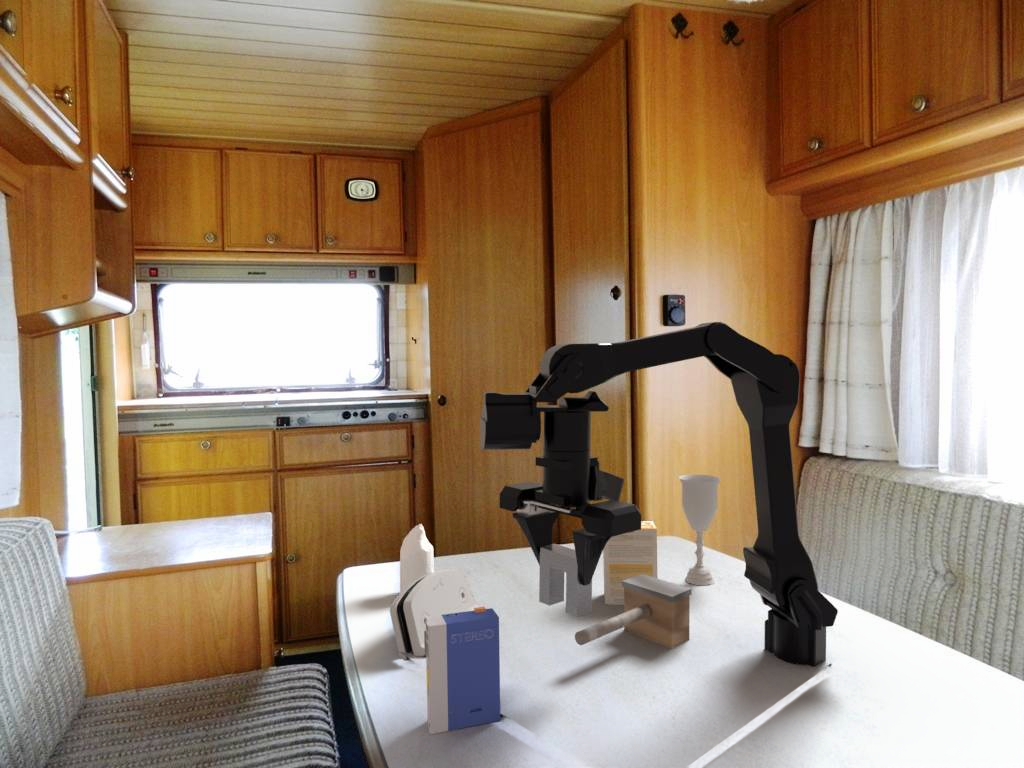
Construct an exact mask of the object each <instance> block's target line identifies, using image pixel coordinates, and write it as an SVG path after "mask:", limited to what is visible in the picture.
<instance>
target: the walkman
mask: <svg viewBox="0 0 1024 768" xmlns="http://www.w3.org/2000/svg"><path fill="white" fill-rule="evenodd" d="M424 650H425V655H424V656H426V657H425V658H426V661H425V662H426V665H425V666H426V704H427V705H426V707H427V708H426V711H427V712H426V713H427V728H428V729H427V730H428V732H429V735H434V734H439V733H444V732H449V731H455V730H460V729H465V728H466V729H467V728H470V727H476V726H480V725H481V726H482V725H486V724H492V723H496V722H501V681H500V680H501V675H500V674H501V673H500V669H501V667H500V666H501V664H500V662H501V661H500V616H499V615H498V614H497V613H496V611H495V610H494V608H486V607H485V606H481V607H478V608H474V611H467V612H459V613H451V614H444V615H436V616H429V617H426V631H424Z"/></svg>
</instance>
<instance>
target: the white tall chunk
mask: <svg viewBox="0 0 1024 768" xmlns="http://www.w3.org/2000/svg"><path fill="white" fill-rule="evenodd" d="M408 532H409V533H408V534H407V535H406V536H405V537H404V539H403V541H402V544H401V547H400V551H399V553H400V554H399V555H400V556H399V557H400V558H399V581H400V582H399V589H400V590H399V594H400V593H401V592H402V590H403V589H404V588H406V587H407V586H408V585H409V584H410V583H412V582H413V581H415V580H417V579H418V578H420V577H422V576H424V575H426V574H429V573H433V572H435V567H434V566H435V565H434V563H435V562H434V561H435V560H434V559H435V557H434V556H435V555H434V550H435V549H434V546H433V545H432V544H431V543H430V541H429V539H428V538H427V536H426V531H425V528H424V526H423V524H422V523H419V524H418V525H415V526H414V527H413V528H411V530H410V531H408Z"/></svg>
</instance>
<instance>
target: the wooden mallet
mask: <svg viewBox="0 0 1024 768" xmlns="http://www.w3.org/2000/svg"><path fill="white" fill-rule="evenodd" d="M622 587H624V605H623V609H624V610H623V613H621V614H618V615H615V616H613V617H610V618H608V619H606V620H603V621H601V622H599V623H596V624H593V625H591V626H589V627H586V628H583V629H581V630H578V631H577V632H575V634H574V640H575V642H576V643H577V644H578V645H579V646H583V645H585V644H589V643H590V642H593V641H594V640H597V639H600V638H601V637H604V636H606V635H608V634H611V633H613V632H615V631H618V630H620V629H622V628H623V629H624V630H623V631H625V632H628V633H630V634H633V635H635V636H638V637H641V638H643V639H646V640H649V641H651V642H654V643H657V644H659V645H662V646H664V647H667V648H669V649H674V648H677V647H678V646H680V645H682V644H684V643H686V642H687V641H690V596H691V595H692V594H693V593H692V588H691V587H687V586H685V585H684V586H683V585H681V584H677V583H674V582H671V581H667V580H664V579H661V578H658V579H657V578H654V577H650V576H647V575H643V574H640V575H637V576H635V577H632V578H629V579H626V580H623V581H622Z"/></svg>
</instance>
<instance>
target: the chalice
mask: <svg viewBox="0 0 1024 768" xmlns="http://www.w3.org/2000/svg"><path fill="white" fill-rule="evenodd" d="M678 477H679V478H678V480H679V481H680V483H681V506H682V508H683V512H684V515H685V518H686V520H687V522H688V524H689V526H690V528H691V530H693V531H695V532H696V539H695V541H694V543H695V544H696V545H695V546H696V550H695V551H694V554H695V556H696V562H695V564H694V565H692V566H690V567H689V568H688V571H687V573H686V576H685V577H684V581H685V580H686V581H687V582H686V581H685V582H686V583H688V584H690V583H691V584H690V585H694V584H695V586H709V585H708V584H711V585H713V584H714V581H715V579H714V578H713V574H712V573H711V570H710V568H709V567H708V566H706V565H705V564H704V562H703V558H704V555H706V553H705V552H704V550H703V549H704V548H703V546H704V544H705V541H704V538H703V533H704V532H706V531H708V530H709V529H710V527H711V525H712V523H713V521H714V518H715V516H716V514H717V510H718V508H719V507H718V505H719V504H718V503H719V502H718V499H719V498H718V495H719V493H718V492H719V490H718V489H719V488H718V486H719V484H720V482H721V478H720V477H718V476H714V475H708V474H684V475H680V476H678Z"/></svg>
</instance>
